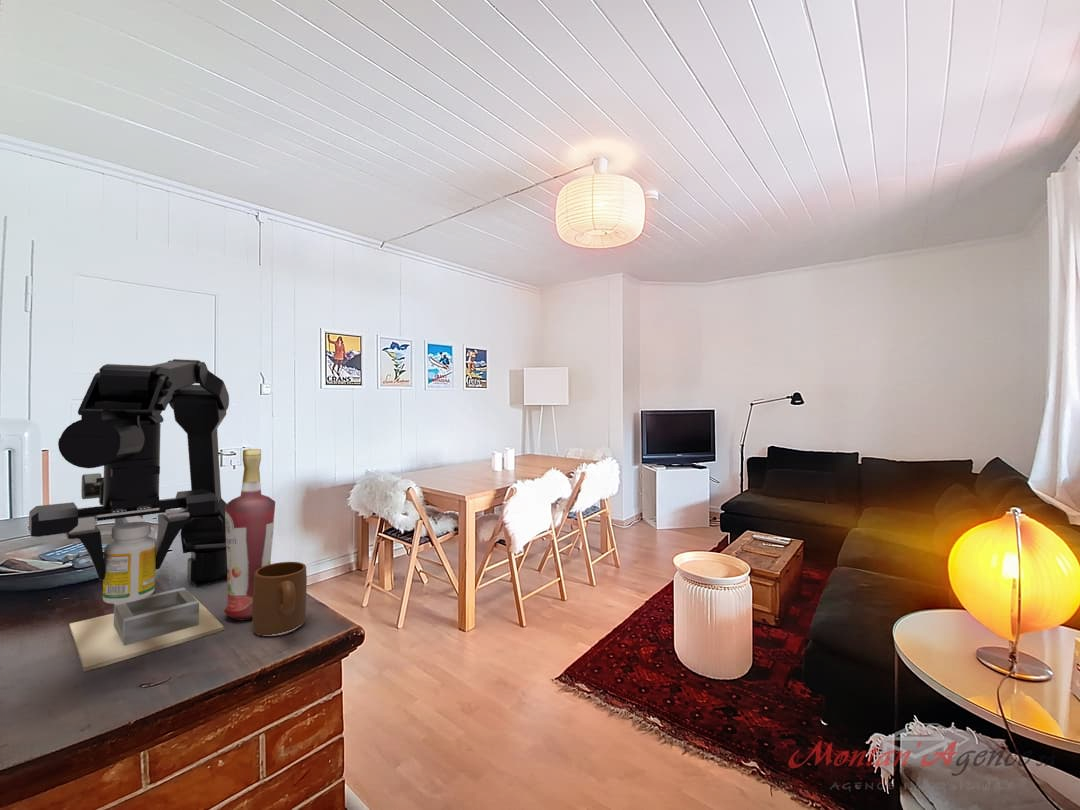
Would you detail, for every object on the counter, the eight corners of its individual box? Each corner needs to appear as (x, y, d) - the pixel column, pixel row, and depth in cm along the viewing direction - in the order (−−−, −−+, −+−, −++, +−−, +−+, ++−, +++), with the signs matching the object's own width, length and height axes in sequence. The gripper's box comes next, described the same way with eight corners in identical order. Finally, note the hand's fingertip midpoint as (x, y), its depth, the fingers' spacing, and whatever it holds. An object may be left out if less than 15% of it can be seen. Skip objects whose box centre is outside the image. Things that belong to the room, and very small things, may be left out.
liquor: (279, 614, 81) (283, 450, 81) (229, 628, 76) (233, 453, 76) (264, 601, 86) (268, 447, 86) (217, 613, 81) (221, 449, 81)
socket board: (192, 597, 87) (193, 536, 87) (223, 630, 75) (225, 559, 75) (69, 627, 75) (71, 555, 75) (84, 671, 63) (86, 586, 63)
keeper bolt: (141, 526, 93) (142, 509, 93) (161, 544, 82) (162, 526, 82) (114, 530, 90) (114, 513, 90) (131, 549, 79) (132, 530, 79)
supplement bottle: (106, 608, 60) (107, 533, 60) (99, 596, 64) (100, 525, 64) (159, 596, 64) (161, 525, 64) (150, 585, 68) (151, 518, 68)
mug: (316, 641, 73) (318, 579, 73) (259, 656, 68) (261, 590, 68) (300, 612, 82) (301, 558, 82) (249, 624, 78) (250, 566, 78)
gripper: (198, 449, 76) (196, 546, 76) (27, 457, 62) (25, 576, 62) (220, 455, 69) (218, 563, 69) (32, 466, 55) (30, 601, 55)
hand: (130, 573), depth 64 cm, fingers closed on supplement bottle, 5 cm apart
